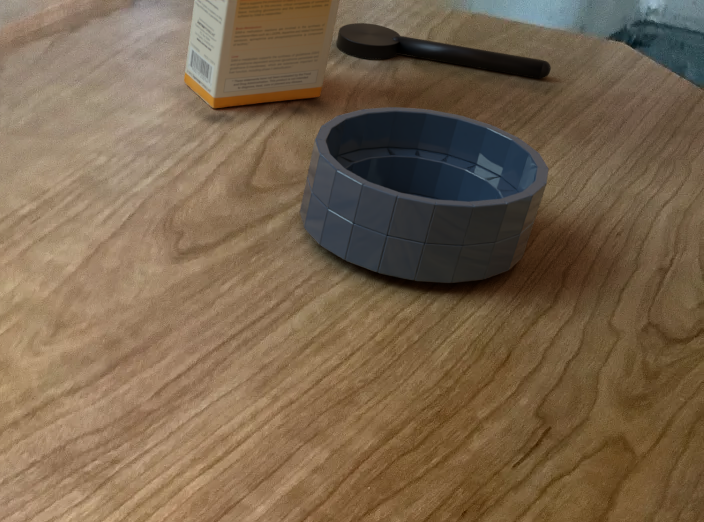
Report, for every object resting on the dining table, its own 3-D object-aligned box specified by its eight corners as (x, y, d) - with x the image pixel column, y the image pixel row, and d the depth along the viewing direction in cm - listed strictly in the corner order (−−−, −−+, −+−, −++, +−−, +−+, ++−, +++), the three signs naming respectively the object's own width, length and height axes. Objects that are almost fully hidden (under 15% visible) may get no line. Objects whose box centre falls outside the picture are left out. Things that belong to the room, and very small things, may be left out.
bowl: (404, 172, 85) (424, 92, 81) (566, 258, 77) (596, 174, 74) (253, 216, 79) (269, 132, 76) (413, 314, 72) (437, 226, 68)
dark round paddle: (549, 68, 99) (554, 51, 98) (545, 90, 96) (551, 73, 95) (341, 32, 102) (345, 16, 102) (331, 52, 99) (334, 36, 98)
